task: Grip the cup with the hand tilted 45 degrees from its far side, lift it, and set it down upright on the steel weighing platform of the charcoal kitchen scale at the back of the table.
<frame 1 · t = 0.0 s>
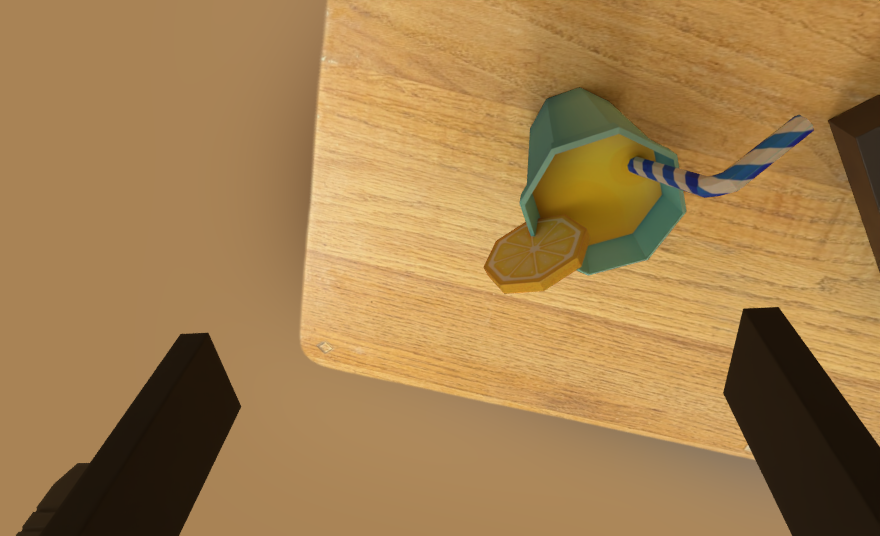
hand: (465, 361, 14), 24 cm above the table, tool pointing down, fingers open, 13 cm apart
cup: (584, 119, 34), on the table
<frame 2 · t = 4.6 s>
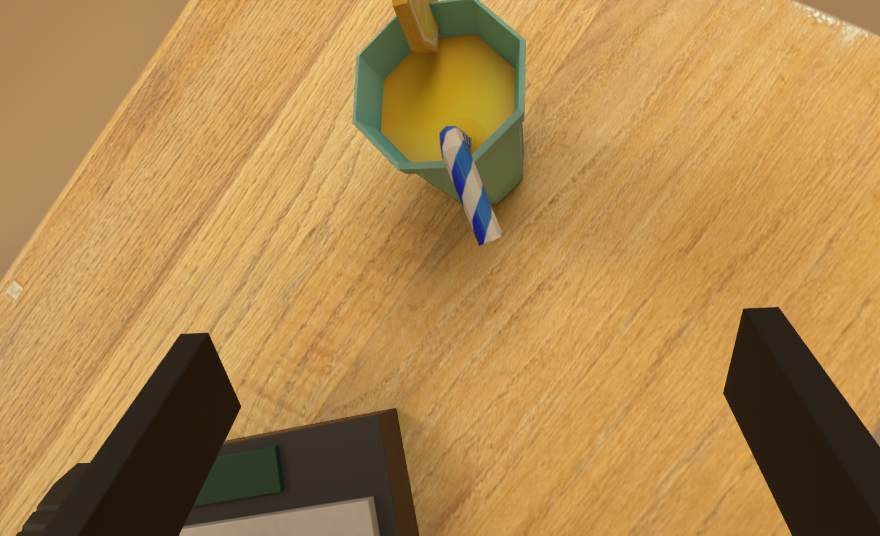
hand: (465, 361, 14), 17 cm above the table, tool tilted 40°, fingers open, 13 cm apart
cup: (486, 178, 33), on the table
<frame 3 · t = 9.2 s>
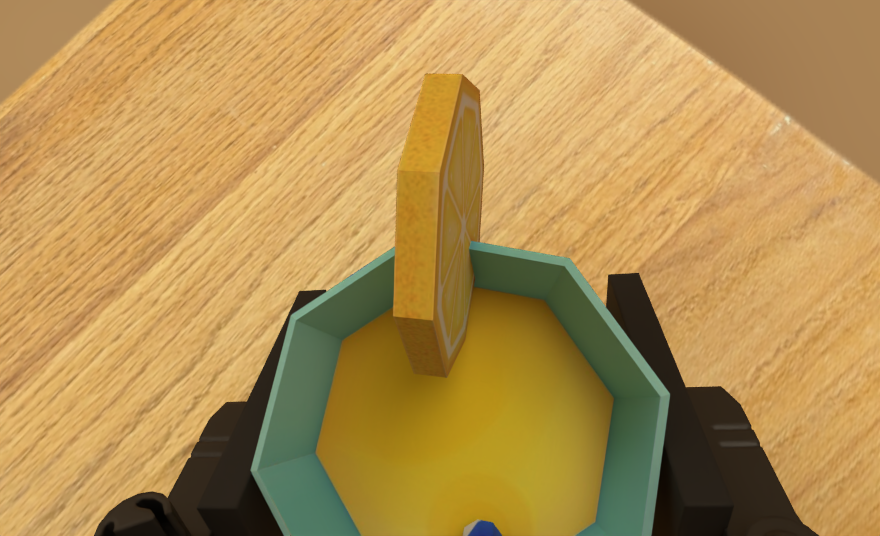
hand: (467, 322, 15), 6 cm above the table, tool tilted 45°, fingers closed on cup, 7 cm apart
cup: (484, 431, 20), on the table, touching gripper
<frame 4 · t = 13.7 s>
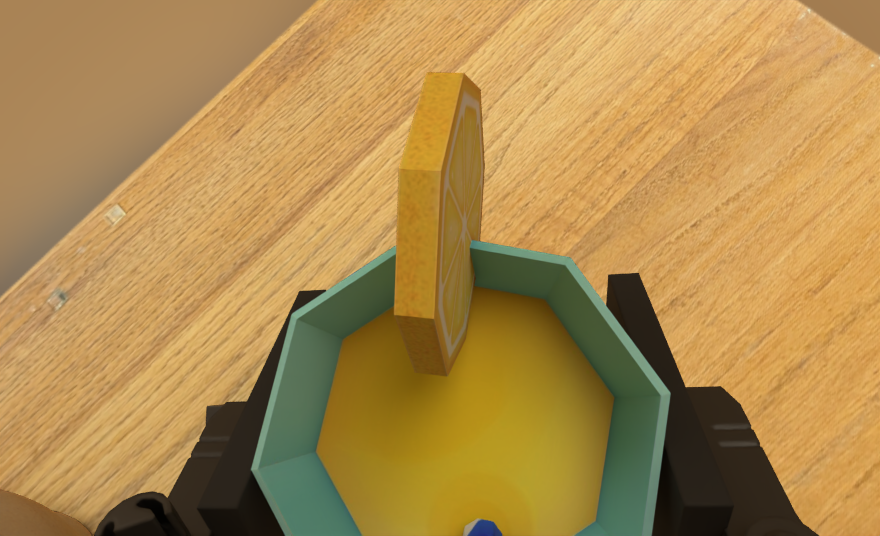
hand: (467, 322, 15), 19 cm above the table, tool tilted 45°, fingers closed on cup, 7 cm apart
cup: (484, 431, 20), point 13 cm above the table, touching gripper
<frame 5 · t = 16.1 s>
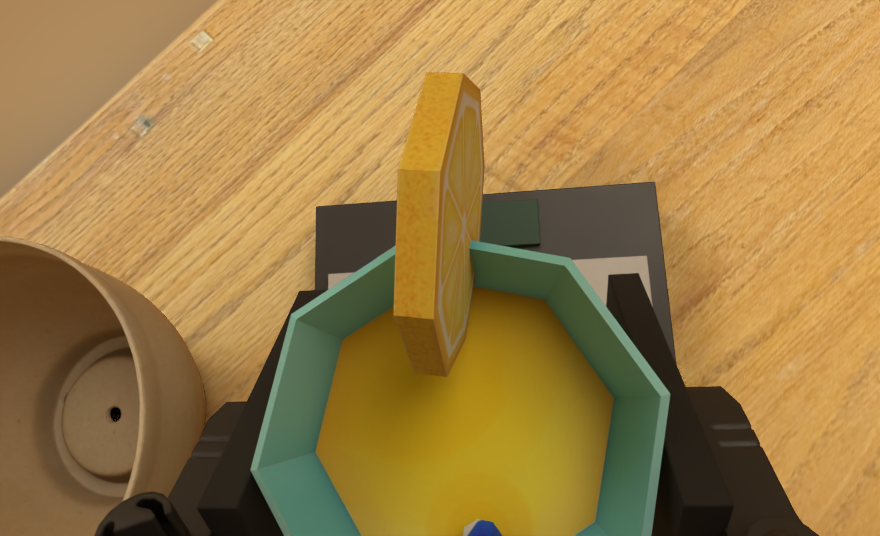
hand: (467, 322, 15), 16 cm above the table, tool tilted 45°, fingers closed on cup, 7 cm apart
scale: (491, 386, 30), on the table
planter bowl: (136, 414, 33), on the table
cup: (484, 431, 20), point 10 cm above the table, touching gripper
when the fingers open (9 cm above the table, at t = 18.3 s): cup stays where it is, resting on scale.
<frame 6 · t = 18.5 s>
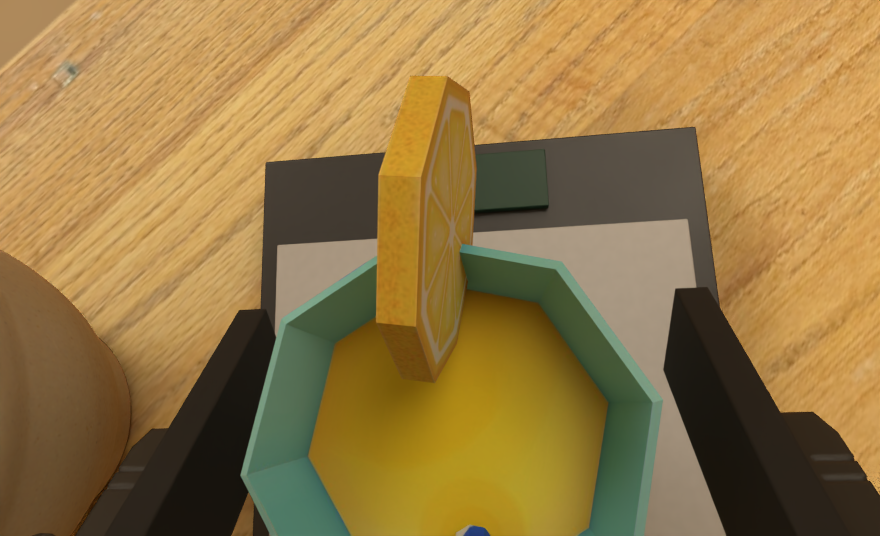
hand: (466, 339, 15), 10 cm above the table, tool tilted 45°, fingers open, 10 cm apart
scale: (485, 388, 24), on the table
planter bowl: (47, 423, 26), on the table
cup: (483, 433, 20), point 4 cm above the table, touching scale
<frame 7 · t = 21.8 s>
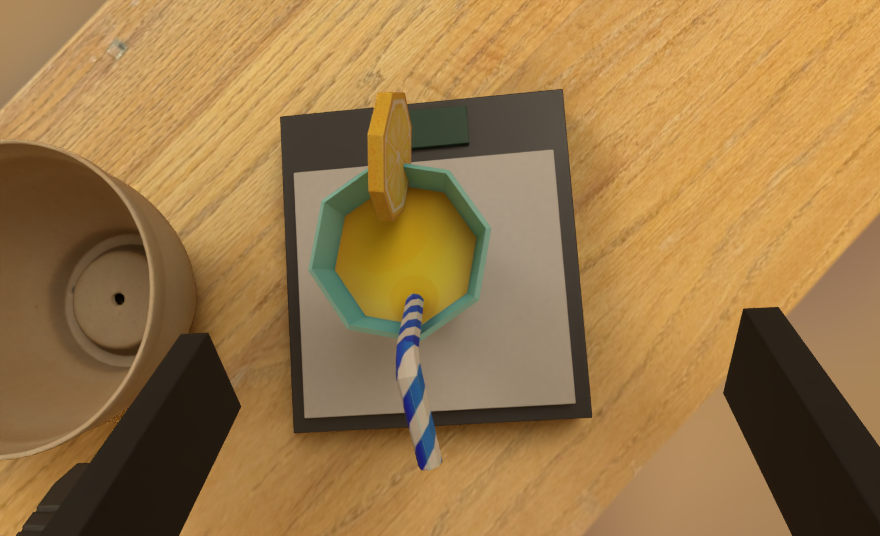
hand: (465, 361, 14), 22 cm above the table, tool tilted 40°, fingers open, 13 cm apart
scale: (433, 264, 37), on the table
planter bowl: (136, 301, 39), on the table
cup: (430, 284, 33), point 4 cm above the table, touching scale
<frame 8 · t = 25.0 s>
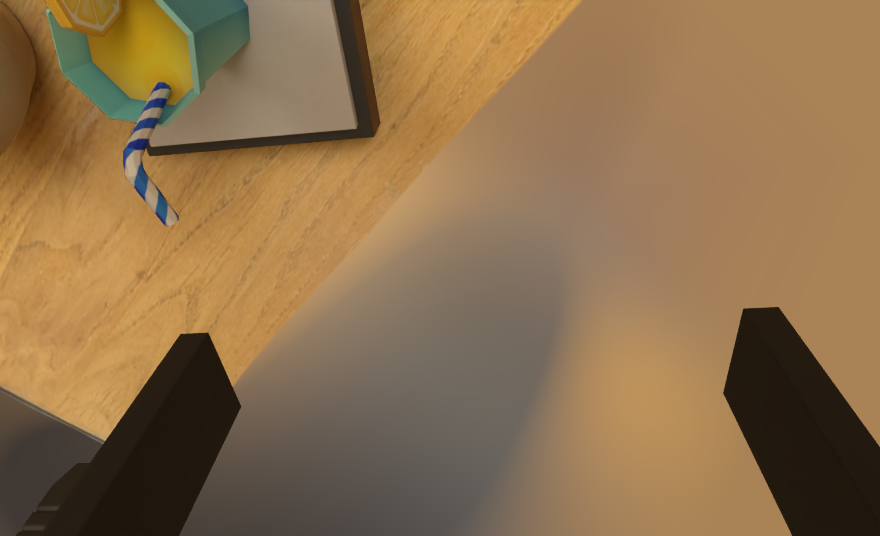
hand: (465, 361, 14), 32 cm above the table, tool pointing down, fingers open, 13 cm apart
cup: (219, 30, 37), point 4 cm above the table, touching scale
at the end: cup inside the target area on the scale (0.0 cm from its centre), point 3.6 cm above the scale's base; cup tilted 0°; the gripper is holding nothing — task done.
